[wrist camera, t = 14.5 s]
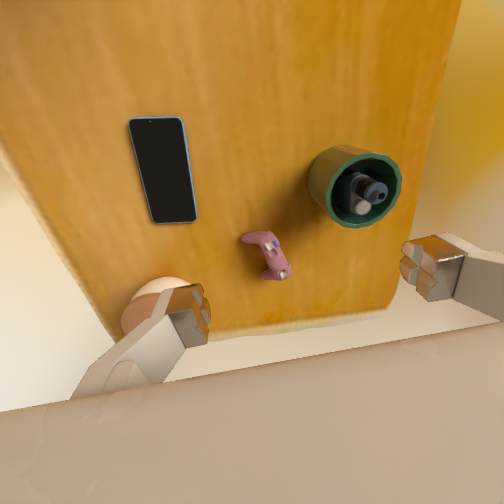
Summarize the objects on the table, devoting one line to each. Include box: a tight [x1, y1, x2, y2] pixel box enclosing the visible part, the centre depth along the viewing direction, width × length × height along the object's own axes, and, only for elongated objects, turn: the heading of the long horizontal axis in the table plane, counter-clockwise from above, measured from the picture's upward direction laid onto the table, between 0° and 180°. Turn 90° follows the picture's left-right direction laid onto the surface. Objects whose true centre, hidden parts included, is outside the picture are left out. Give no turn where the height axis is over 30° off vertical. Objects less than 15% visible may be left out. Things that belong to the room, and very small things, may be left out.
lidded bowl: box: [120, 277, 191, 349], centre depth 41 cm, size 13×13×11 cm
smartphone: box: [128, 116, 198, 224], centre depth 35 cm, size 7×1×15 cm
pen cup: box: [307, 145, 402, 228], centre depth 33 cm, size 9×9×9 cm
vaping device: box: [332, 168, 388, 215], centre depth 31 cm, size 3×5×12 cm, turn 10°
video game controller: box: [241, 230, 292, 281], centre depth 40 cm, size 10×5×7 cm, turn 24°
